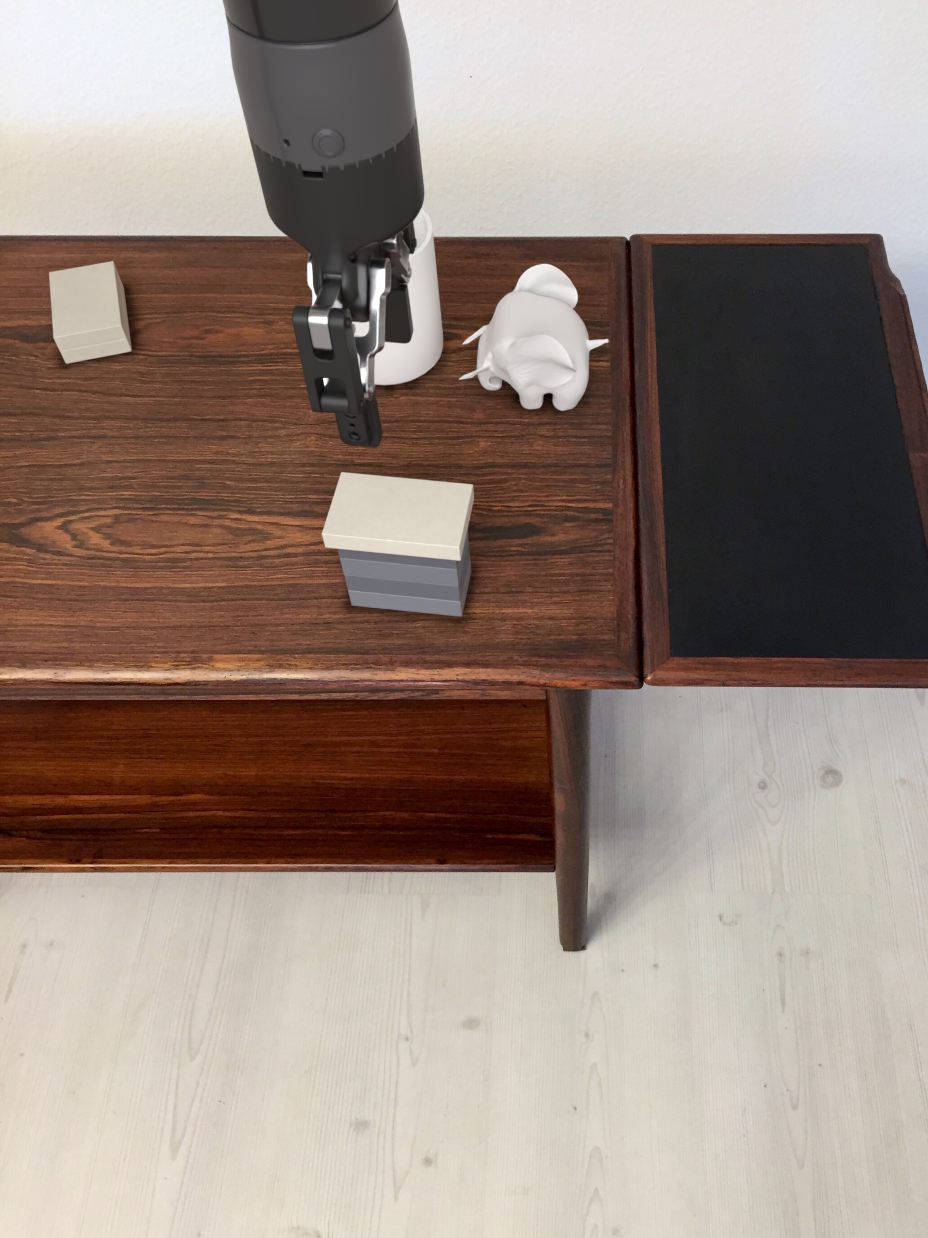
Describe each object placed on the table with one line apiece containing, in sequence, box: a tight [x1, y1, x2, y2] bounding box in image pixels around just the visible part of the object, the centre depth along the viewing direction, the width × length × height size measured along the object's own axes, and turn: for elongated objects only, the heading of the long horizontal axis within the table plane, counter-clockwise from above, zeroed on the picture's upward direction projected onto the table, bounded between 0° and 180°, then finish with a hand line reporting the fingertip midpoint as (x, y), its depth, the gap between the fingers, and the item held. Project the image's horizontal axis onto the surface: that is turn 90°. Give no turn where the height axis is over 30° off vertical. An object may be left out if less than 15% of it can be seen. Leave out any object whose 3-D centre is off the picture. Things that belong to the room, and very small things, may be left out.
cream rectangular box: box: [48, 260, 133, 365], centre depth 91 cm, size 9×6×3 cm, turn 17°
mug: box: [352, 207, 444, 386], centre depth 86 cm, size 10×12×12 cm
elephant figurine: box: [458, 263, 610, 412], centre depth 85 cm, size 10×12×9 cm
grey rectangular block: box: [336, 528, 472, 617], centre depth 73 cm, size 8×4×7 cm, turn 83°
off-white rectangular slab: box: [321, 471, 475, 561], centre depth 70 cm, size 9×6×1 cm, turn 83°
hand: (379, 388), depth 60 cm, fingers open, 8 cm apart
